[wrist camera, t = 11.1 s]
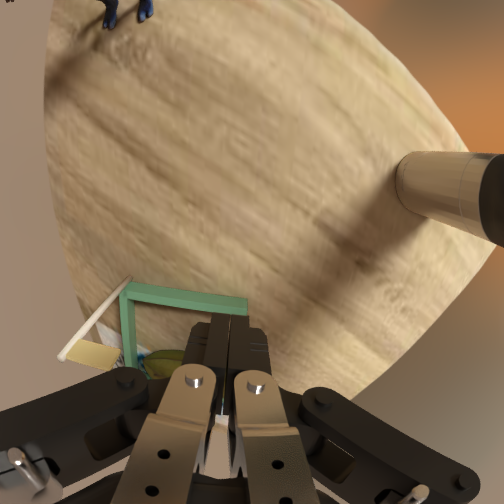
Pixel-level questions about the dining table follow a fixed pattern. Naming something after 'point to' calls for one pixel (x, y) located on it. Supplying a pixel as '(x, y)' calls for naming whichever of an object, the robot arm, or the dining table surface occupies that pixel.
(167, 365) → the fruit
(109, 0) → the figurine
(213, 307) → the mint frame with pennant
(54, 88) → the dining table surface
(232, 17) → the dining table surface
